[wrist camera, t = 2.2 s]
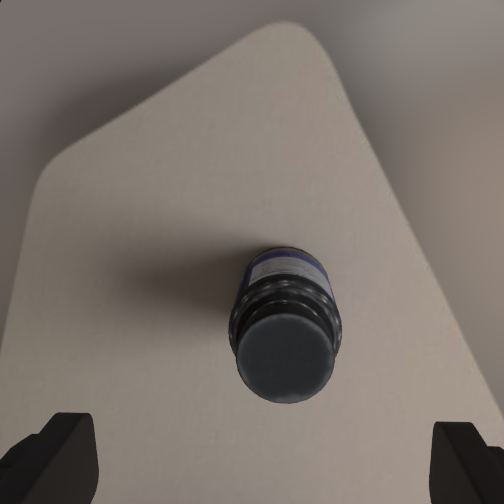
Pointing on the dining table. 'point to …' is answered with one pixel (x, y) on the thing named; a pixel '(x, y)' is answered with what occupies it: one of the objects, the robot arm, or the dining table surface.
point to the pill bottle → (285, 326)
